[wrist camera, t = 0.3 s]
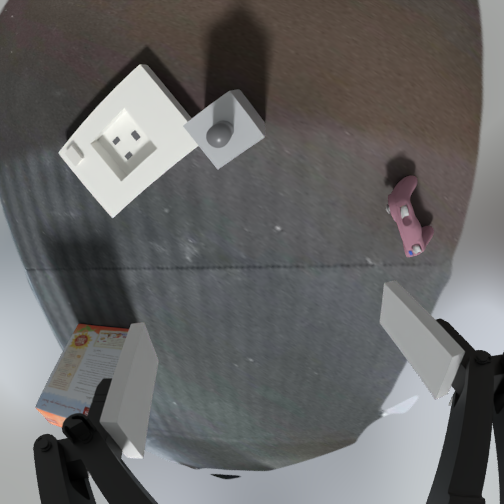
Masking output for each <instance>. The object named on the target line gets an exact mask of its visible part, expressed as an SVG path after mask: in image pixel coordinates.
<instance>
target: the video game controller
mask: <svg viewBox="0 0 504 504" xmlns="http://www.w3.org/2000/svg"><path fill="white" fill-rule="evenodd" d="M417 181H418V180H417V178H416V177H415V176H412V175H410V176H407V177H405V178H403V179H402V180H401V181H399V182H398V184H397V185H396V186H395V188H394V189H393V191H392V193H391V194H390V195H388V204H389V205H388V204H387V205H386V210H387V212H388V213H389V214H390V212H391V215H392V217H393V219H394V221H396V222H397V225H398V229H399V232H400V235H401V238H402V240H403V246H404V250H405V254H406V256H407V257H412V256H416V255H418V254H420V253H422V252H423V251H424V250H425V248H426V246H427V244H428V243H429V241H430V240H431V238H432V236H433V233H434V230H433V228H432V227H431V226H424V227H422V228H421V225H420V223H419V221H418V219H417V218H416V216H415V213H414V210H413V207H412V205H411V202H410V197H411V194H412V192H413V190H414V189H415V187H416V185H417Z"/></svg>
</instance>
